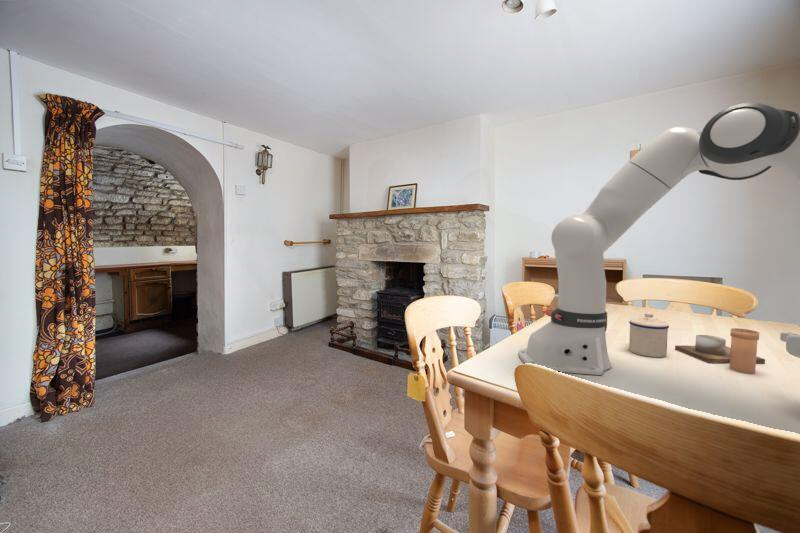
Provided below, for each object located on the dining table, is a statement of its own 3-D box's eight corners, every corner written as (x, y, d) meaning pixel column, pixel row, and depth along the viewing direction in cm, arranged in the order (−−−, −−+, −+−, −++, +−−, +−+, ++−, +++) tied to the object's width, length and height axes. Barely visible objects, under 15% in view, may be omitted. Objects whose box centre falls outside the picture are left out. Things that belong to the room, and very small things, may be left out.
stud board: (708, 363, 84) (709, 343, 84) (675, 349, 95) (675, 332, 94) (764, 363, 83) (766, 344, 83) (724, 349, 94) (725, 332, 94)
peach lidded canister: (741, 374, 77) (744, 333, 76) (722, 366, 82) (725, 328, 81) (762, 374, 77) (765, 333, 76) (742, 366, 81) (744, 328, 81)
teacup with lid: (676, 358, 88) (678, 316, 87) (641, 357, 88) (642, 316, 88) (646, 344, 99) (647, 308, 99) (615, 344, 100) (617, 307, 99)
